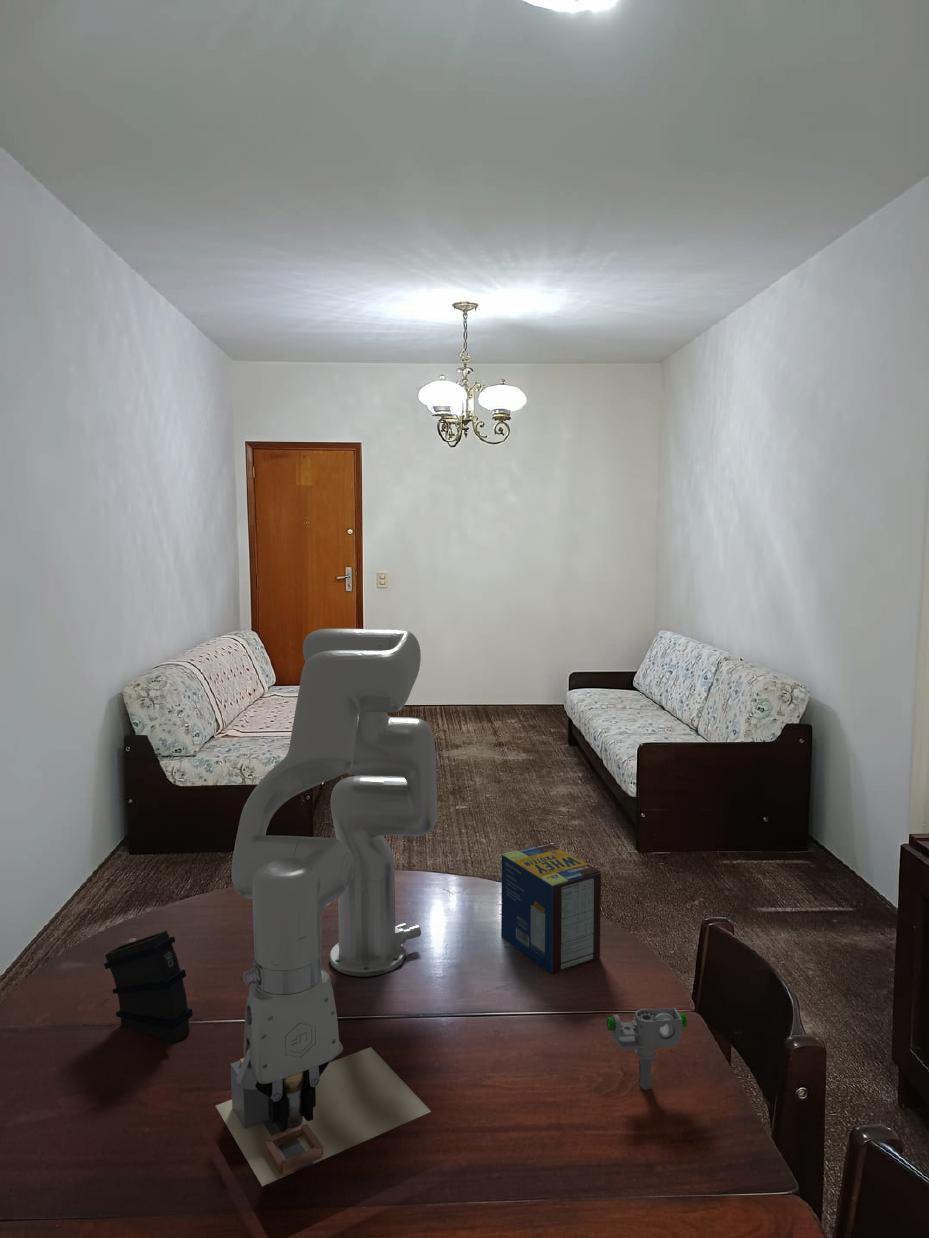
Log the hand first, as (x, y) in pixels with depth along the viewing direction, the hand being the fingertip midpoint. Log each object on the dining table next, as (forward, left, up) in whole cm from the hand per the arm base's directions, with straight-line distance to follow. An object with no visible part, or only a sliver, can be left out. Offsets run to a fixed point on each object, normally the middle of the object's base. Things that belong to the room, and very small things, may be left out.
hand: (292, 1117), depth 103 cm
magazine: (+7, -37, -6) cm, 38 cm away
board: (-6, -5, -6) cm, 10 cm away
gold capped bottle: (0, 0, 0) cm, 0 cm away
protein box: (-57, -23, -6) cm, 62 cm away
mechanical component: (-44, +13, -6) cm, 46 cm away
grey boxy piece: (0, -9, -4) cm, 10 cm away
